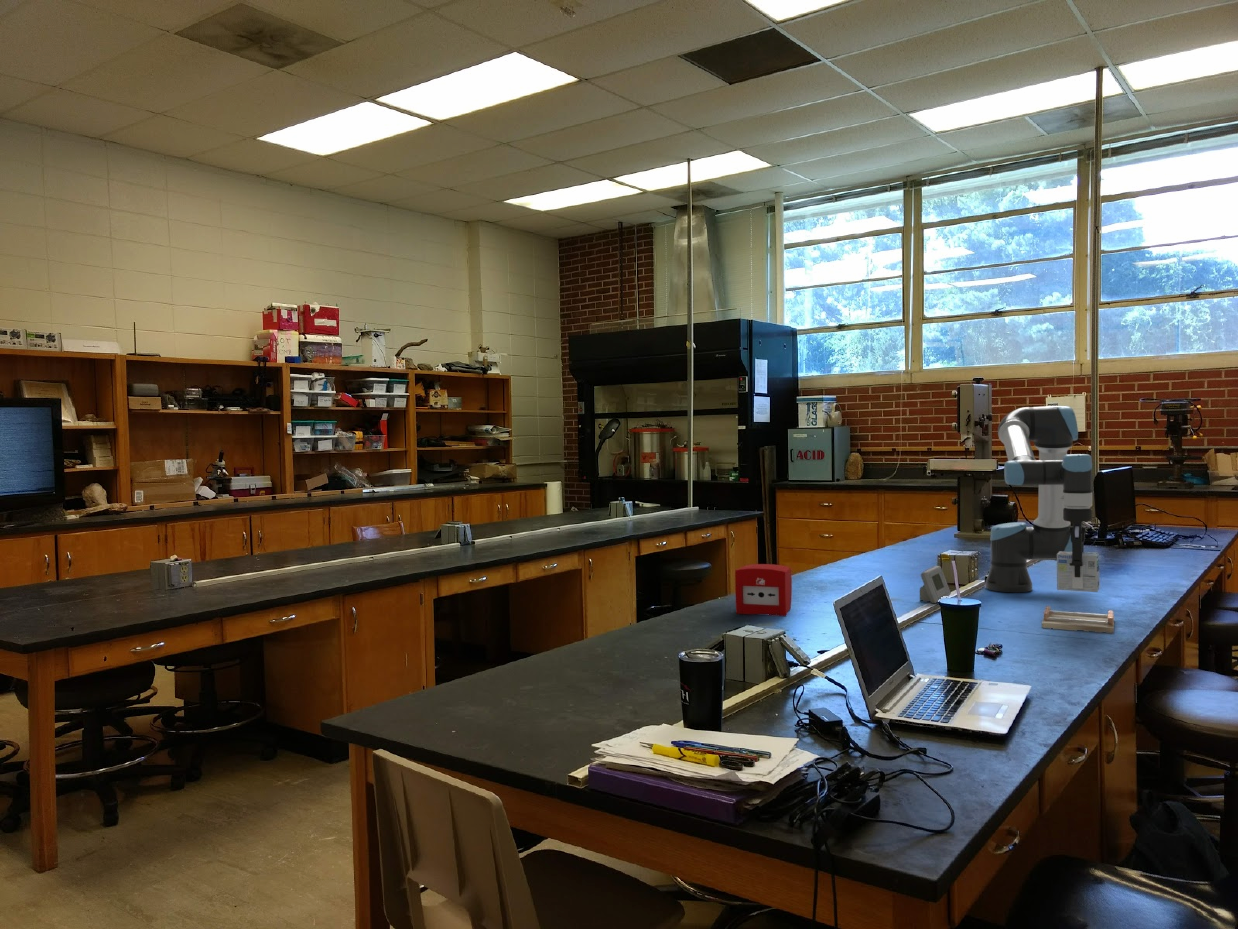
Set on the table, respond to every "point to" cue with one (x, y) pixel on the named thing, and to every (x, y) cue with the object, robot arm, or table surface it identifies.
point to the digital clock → (933, 585)
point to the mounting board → (1078, 624)
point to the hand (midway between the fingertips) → (1078, 585)
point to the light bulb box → (1089, 571)
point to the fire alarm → (763, 589)
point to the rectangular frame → (1048, 612)
